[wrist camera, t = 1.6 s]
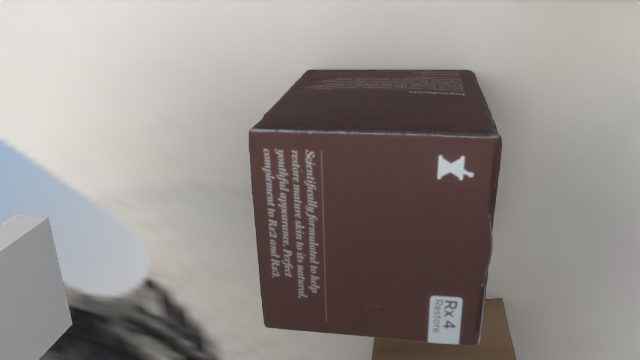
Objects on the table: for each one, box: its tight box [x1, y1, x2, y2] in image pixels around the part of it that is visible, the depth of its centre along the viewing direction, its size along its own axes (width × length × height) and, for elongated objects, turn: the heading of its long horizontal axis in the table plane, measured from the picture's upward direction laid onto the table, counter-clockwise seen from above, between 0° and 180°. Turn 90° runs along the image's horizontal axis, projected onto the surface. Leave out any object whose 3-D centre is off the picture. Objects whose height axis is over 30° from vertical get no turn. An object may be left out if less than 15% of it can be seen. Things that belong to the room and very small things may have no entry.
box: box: [249, 70, 502, 345], centre depth 17 cm, size 6×6×7 cm
